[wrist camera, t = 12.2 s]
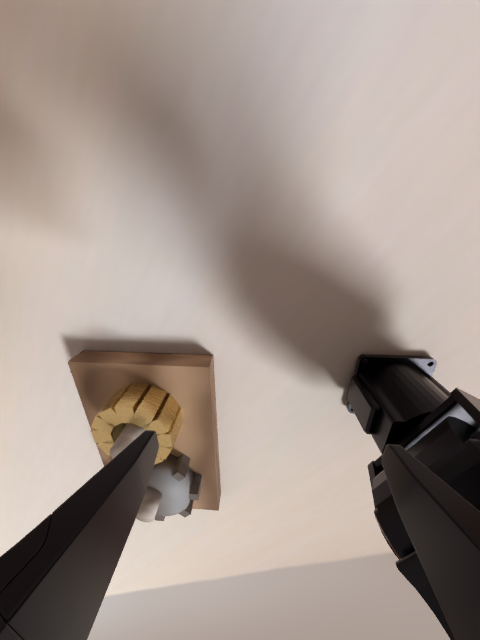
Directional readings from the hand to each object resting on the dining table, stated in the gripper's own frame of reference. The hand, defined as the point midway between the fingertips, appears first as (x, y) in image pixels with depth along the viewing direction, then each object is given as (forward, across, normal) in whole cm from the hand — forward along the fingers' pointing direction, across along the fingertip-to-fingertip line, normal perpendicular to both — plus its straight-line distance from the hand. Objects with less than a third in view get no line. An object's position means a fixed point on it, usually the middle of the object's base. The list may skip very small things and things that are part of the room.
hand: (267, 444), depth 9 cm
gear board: (+12, +11, +14) cm, 21 cm away
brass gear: (+10, +11, +9) cm, 17 cm away
